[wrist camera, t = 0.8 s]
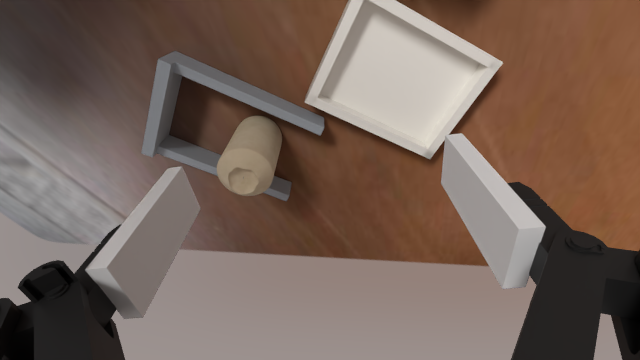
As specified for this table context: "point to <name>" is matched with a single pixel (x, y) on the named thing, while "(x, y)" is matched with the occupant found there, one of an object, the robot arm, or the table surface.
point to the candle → (251, 156)
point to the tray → (399, 75)
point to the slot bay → (182, 65)
